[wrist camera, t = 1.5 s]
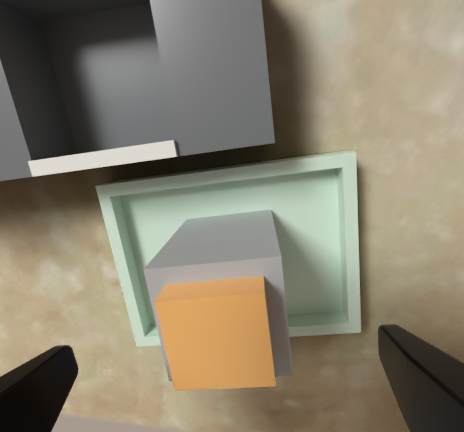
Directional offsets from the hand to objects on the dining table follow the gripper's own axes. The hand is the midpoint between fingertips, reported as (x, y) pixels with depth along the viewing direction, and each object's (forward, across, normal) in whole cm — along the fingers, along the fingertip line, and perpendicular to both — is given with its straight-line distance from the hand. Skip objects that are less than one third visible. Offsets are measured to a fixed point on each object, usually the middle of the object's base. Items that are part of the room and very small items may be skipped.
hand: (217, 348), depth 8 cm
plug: (+7, 0, 0) cm, 7 cm away
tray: (+8, 0, 0) cm, 8 cm away
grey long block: (+8, +9, -9) cm, 15 cm away
